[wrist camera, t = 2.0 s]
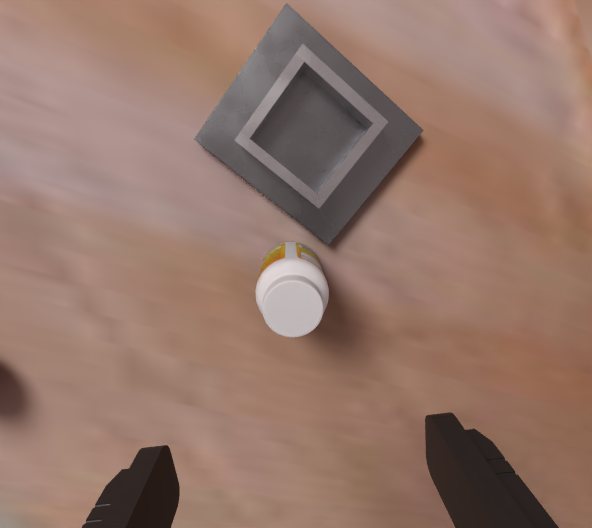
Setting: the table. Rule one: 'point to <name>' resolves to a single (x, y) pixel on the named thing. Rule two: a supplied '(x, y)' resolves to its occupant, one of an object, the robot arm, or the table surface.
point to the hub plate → (307, 127)
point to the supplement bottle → (292, 290)
